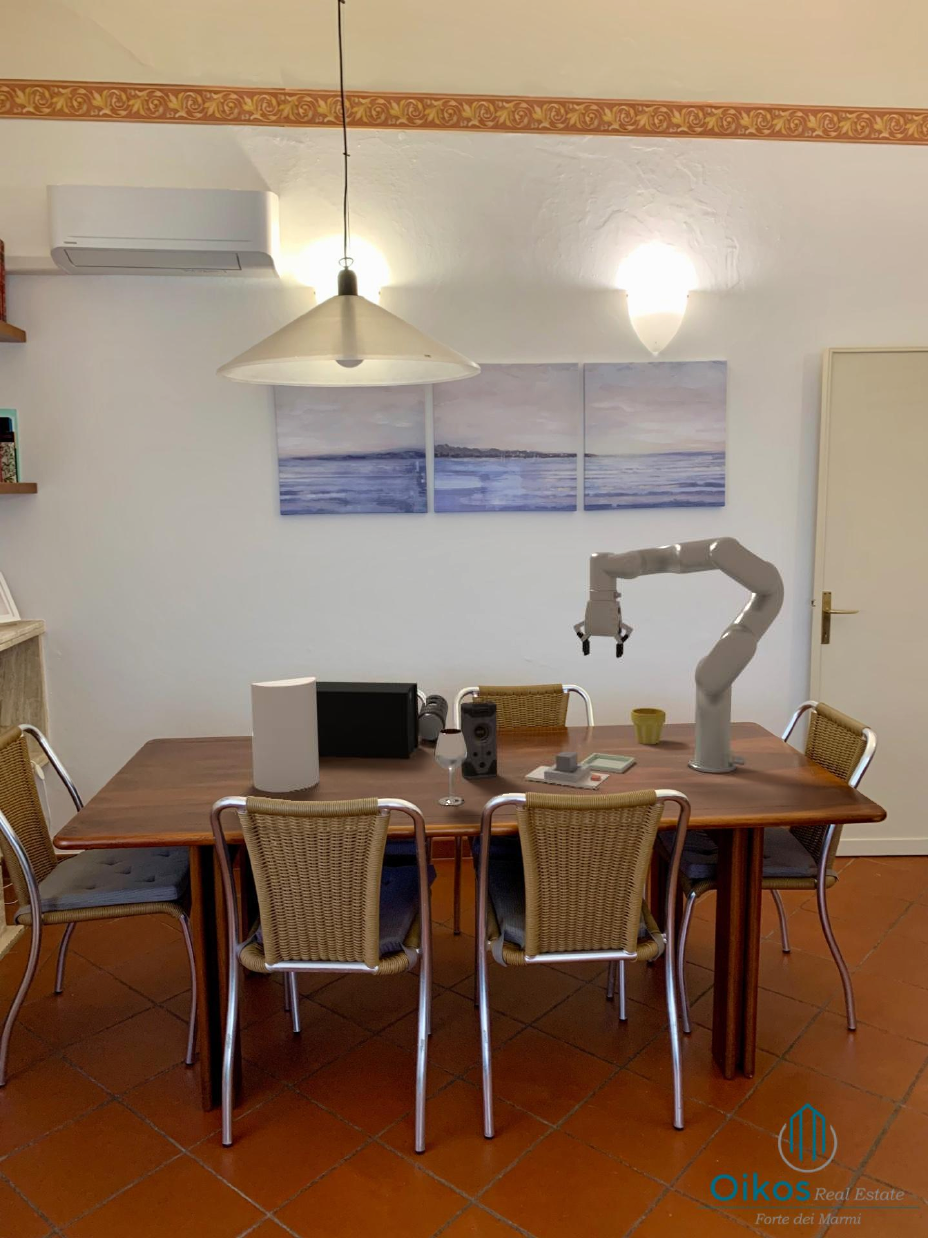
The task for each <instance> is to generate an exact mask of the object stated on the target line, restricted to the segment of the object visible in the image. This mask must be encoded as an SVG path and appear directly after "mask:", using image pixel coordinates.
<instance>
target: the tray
mask: <svg viewBox="0 0 928 1238" xmlns="http://www.w3.org/2000/svg"><path fill="white" fill-rule="evenodd" d="M635 761H636V759H635V757H631V756H622V755H615V754H604V753H598V752H593V753H592V754H590V755H589V756H588V757H586V758H585V759H584V760H582V761H581V762H579V763H578V764H581V765H590V770H591V771H592V770H593V771H602V772H609V773H617V774H622V773H623V772H624V771H625V770H627V769H628V768H629V767H631V766H633V764H635Z"/></svg>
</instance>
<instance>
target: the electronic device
mask: <svg viewBox="0 0 928 1238" xmlns="http://www.w3.org/2000/svg"><path fill="white" fill-rule="evenodd" d="M497 710H498V709H497V704H496V703H495V702H494V701H491V700H483V701H469V702H467V701H466V702H463V703H460V730H462V733H463V736H464V740H465V744H466V748H467V757H466V760H465V761H464V763H463V764H462V765H461V766H460V768H461V769H460V770H461V771H460V772H461V775H462V776H463V777H464V778H465V779H466V778H467V779H468V780H474V779H475V780H476V778H477V779H483V777H487V778H494V776H495V777H497V775H498V720H497V717H498V713H497Z"/></svg>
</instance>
